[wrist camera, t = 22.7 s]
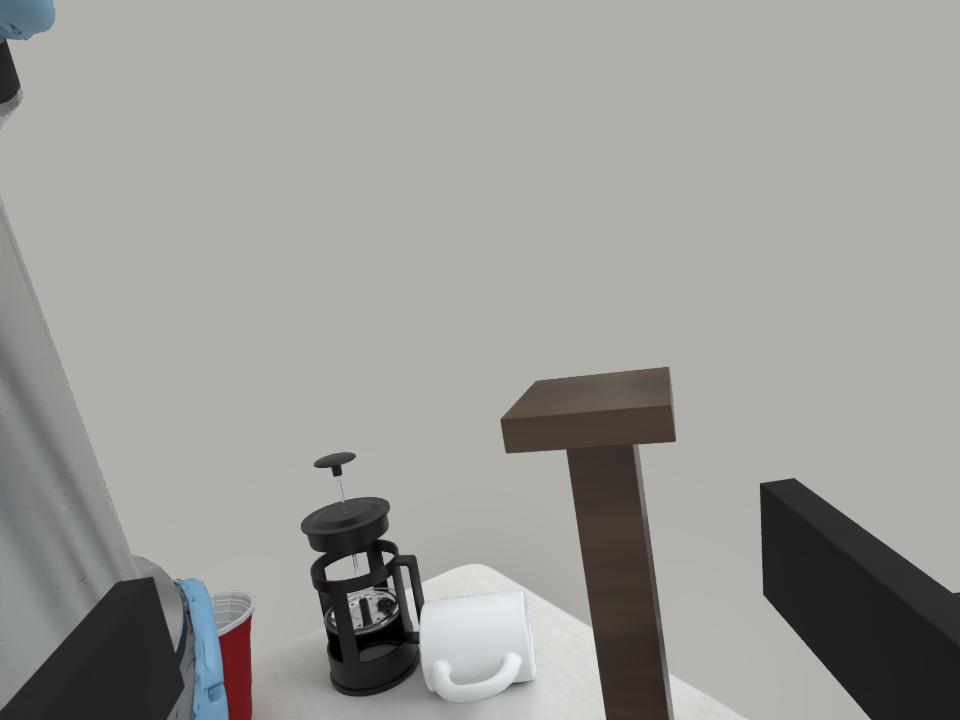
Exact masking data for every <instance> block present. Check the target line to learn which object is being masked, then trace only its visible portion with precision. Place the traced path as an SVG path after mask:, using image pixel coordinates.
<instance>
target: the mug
mask: <svg viewBox="0 0 960 720" xmlns="http://www.w3.org/2000/svg"><path fill="white" fill-rule="evenodd" d="M419 642H420V656H421V664H422V670H423V675H424V679H425V682H426V685H427V687H428V689H429V690H430V691H432V692H435V691H437V693H438V694H439V695H440V696H441V697H442V698H444V699H446V700H448V701H451V702H456V703H469V702H476V701H480V700H484V699H487V698H490V697H492V696H494V695H496V694H498V693H500V692H501V691H503V690H504V689H506V688H507V687H508V686H509V685H510V684H511V683H515V682H524V681H533V680H535V678H536V667H535V655H534V646H533V638H532V630H531V623H530V616H529V610H528V604H527V599H526V595H525V592H524V591H523V590H515V591H507V592H499V593H490V594H482V595H474V596H466V597H458V598H450V599H442V600H434V601H427V602H425V603H424V605H423V607H422V610H421V615H420V626H419Z"/></svg>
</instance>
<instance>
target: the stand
mask: <svg viewBox="0 0 960 720" xmlns="http://www.w3.org/2000/svg"><path fill="white" fill-rule="evenodd" d="M673 408H674V407H673V395H672V386H671V378H670V370H669V367H663V368H653V369H644V370H634V371H625V372H615V373H606V374H596V375H588V376H577V377H568V378H559V379H549V380H540V381H536V382H535V383H534V384H533V385H532V386H531V387H530V388H529V389H528V390H527V391H526V392H525V393H524V395H523V396H522V397H521V398H520V399H519V400H518V401H517V402H516V403H515V404H514V405H513V406H512V407H511V408H510V410H509V411H508V412H507V413H506V414H505V415H504V416H503V417H502V418H501V427H502V433H503V439H504V445H505V451H506V453H521V452H535V451H549V450H564V449H566V451H567V457H568V464H569V471H570V478H571V484H572V490H573V498H574V505H575V512H576V518H577V525H578V532H579V539H580V545H581V552H582V559H583V566H584V572H585V579H586V586H587V593H588V599H589V606H590V613H591V619H592V626H593V633H594V640H595V647H596V653H597V660H598V667H599V674H600V680H601V687H602V694H603V701H604V707H605V714H606V720H674V714H673V707H672V699H671V692H670V684H669V676H668V669H667V661H666V654H665V646H664V639H663V630H662V623H661V615H660V608H659V600H658V592H657V585H656V577H655V571H654V570H655V569H654V562H653V555H652V547H651V539H650V531H649V524H648V516H647V508H646V501H645V493H644V486H643V478H642V471H641V463H640V456H639V447H638V444H651V443H664V442H675V441H676V434H675V421H674V409H673Z"/></svg>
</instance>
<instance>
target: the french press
mask: <svg viewBox="0 0 960 720" xmlns="http://www.w3.org/2000/svg"><path fill="white" fill-rule="evenodd" d="M355 457H356V455H355V454H353V453H349V452H343V453H336V454H331V455H328V456H325V457H323V458H321V459H319V460H317V461H316V462H315V463H314V467H316V468H328V467H331V469H332V472H333V476H334V477H337V482H338V487H339V492H340V497H341V501H340V502H337V503H334V504H331V505H328V506H325V507H323V508H321V509H319V510H317V511H315V512H313V513H312V514H310V515H309V516H307V517H306V518H305V519H304V520H303V521H302V523H301V530H302V532H303V533H305V534H306V535H307V536H308V540H309V543H310V546H311V547H312V548H313V550H315V551H318V552H326V553H325V554H324V555H322V556H321V557H320V558H318V559H317V560H316V561H315V562H314V564H313V565H312V567H311V571H310V572H311V577H312V582H313V586H314V588H315V589H316V590H318V594H319V598H320V603H321V608H322V612H323V617H324V624H325V627H326V632H327V636H328V641H329V642H328V645H327V653H328V658H329V662H330V667H331V672H330V678H331V682H332V684H333V686H334V687H335V688H336V689H337V690H338V691H340V692H341V693H344V694H347V695H353V696H365V695H371V694H376V693H379V692H382V691H385V690H387V689H390V688H392V687H394V686H396V685H397V684H399V683H401V682H402V681H403V680H405V679H406V678H407V677H408V676H409V675H410V674H411V673H412V672H413V671H414V670H415V668H416V666H417V665H418V662H419V659H420V651H419V647H418V645H417V644H420V642H419V632H414V631H413V626H412V622H411V621H410V617H409V611H408V606H407V601H406V596H405V590H404V585H403V580H402V575H401V569H400V566H407V567H408V569H409V574H410V579H411V585H412V590H413V596H414V601H415V606H416V612H417V617H418V622H419V626H420V615H421V610H422V607H423V605H424V603H425V602H424V597H423V592H422V586H421V581H420V576H419V570H418V565H417V560H416V556H415V555H399V552H398V548H397V546H396V545H395V544H394V543H393V542H391V541H387V540H381V539H378V538H379V537H381V536H382V535H383V534H384V533H385V532H386V531H387V530H388V527H389V523H388V518H387V513H388V512H389V510H390V505H389V502H388V501H387V500H385V499H382V498H377V497H363V498H355V499H349V500H345V499H344V495H343V489H342V485H341V479H340V475H342V469H341V465H342V464H345V463H347V462H350V461H351V460H353V459H354V458H355ZM381 551H384V552H389V553H392V554H393V555H394V557H393V558H392V560H391V561H390V562H388V563H387V564H386V565H384V562H383V557H382V552H381ZM362 552H366V553H367V557H368V563H369V568H370V573H369V574H366V575H363V576H360V574H359V569H358V564H357V559H356V554H357V553H362ZM350 555H352V557H353V562H354V566H355V572H356V578H352V579H347V580H339V581H328V580H327V579H326V574H325V569H324V568H325V567H327V566H328V565H330V564H331V563H333V562H335V561H337V560H339V559H342V558H344V557H347V556H350ZM391 575H392V576H393V581H394V587H395V589H391V588H388V583H387V578H389V577H390V576H391ZM372 586H373V588H372V589H367V588H369V587H372ZM364 589H367V590H364ZM356 591H359V592H356ZM352 592H356V593H354V594H351V595H349V596H347V593H352ZM386 642H389V643H397V644H399V645H400V646H399V647H398V648H396V649H395V650H394V651H392V652H390V653H388V654H387V655H384V656H382V657H380V658H377V659H374V660H370V661H366V662H361V661H360V656H359V651H360V650H361V649H363V648H366V647H368V646H371V645H374V644H378V643H386Z"/></svg>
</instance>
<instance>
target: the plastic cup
mask: <svg viewBox="0 0 960 720" xmlns="http://www.w3.org/2000/svg"><path fill="white" fill-rule="evenodd" d="M209 597H210V600H211V604H212V608H213V613H214V617H215V622H216V627H217V633H218V638H219V644H220V650H221V656H222V664H223V677H224V682H223V685H224V687H225V692H226V698H227V706H228V720H251V716H252V697H251V684H252V675H251V648H250V631H251V618H252V612H254V609H255V601H256V597H255V596H253V595H252V594H251V593H249V592H243V591H235V590H233V591H223V592H214V593H210V594H209Z"/></svg>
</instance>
